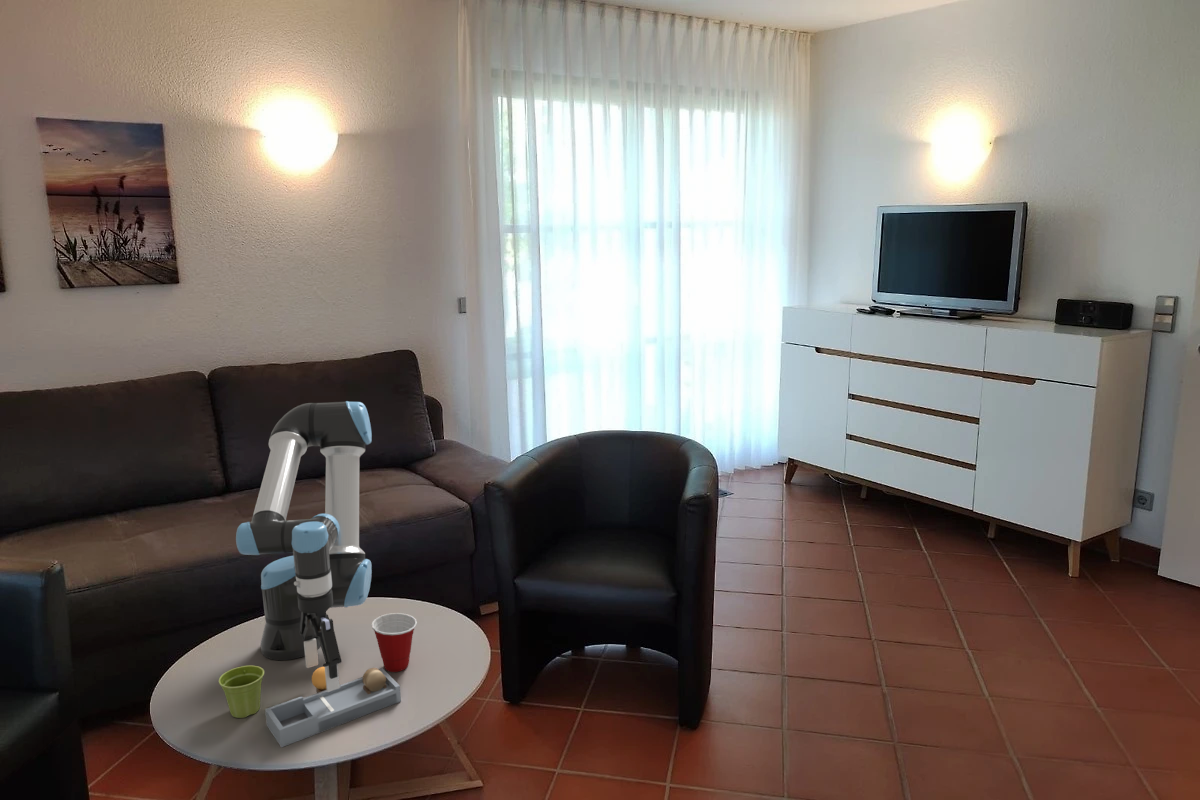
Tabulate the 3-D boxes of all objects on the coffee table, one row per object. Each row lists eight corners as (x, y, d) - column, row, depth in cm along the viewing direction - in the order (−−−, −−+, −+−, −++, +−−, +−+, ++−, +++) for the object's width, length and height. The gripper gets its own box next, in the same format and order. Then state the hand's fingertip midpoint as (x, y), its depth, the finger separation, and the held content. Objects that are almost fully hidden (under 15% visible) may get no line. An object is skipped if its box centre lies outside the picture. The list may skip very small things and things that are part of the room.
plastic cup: (417, 676, 202) (414, 630, 199) (372, 679, 200) (368, 633, 198) (421, 653, 212) (418, 610, 210) (378, 656, 211) (375, 612, 208)
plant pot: (234, 698, 193) (230, 664, 191) (274, 699, 193) (270, 664, 191) (215, 722, 184) (210, 687, 182) (257, 723, 184) (253, 687, 182)
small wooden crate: (316, 696, 194) (315, 686, 193) (328, 692, 195) (327, 682, 195) (321, 701, 191) (320, 691, 191) (333, 697, 193) (332, 687, 192)
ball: (309, 686, 193) (307, 667, 192) (330, 679, 196) (328, 660, 195) (317, 696, 189) (315, 676, 188) (338, 688, 192) (336, 668, 191)
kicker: (363, 688, 192) (361, 671, 191) (381, 682, 194) (379, 665, 193) (368, 694, 189) (366, 676, 189) (386, 687, 192) (385, 670, 191)
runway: (266, 725, 183) (264, 709, 182) (383, 682, 199) (381, 667, 198) (281, 747, 175) (279, 730, 174) (401, 701, 191) (399, 685, 190)
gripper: (280, 578, 195) (288, 661, 199) (317, 614, 176) (325, 706, 180) (312, 570, 200) (319, 651, 204) (351, 604, 180) (359, 694, 184)
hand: (322, 677), depth 192 cm, fingers open, 13 cm apart
